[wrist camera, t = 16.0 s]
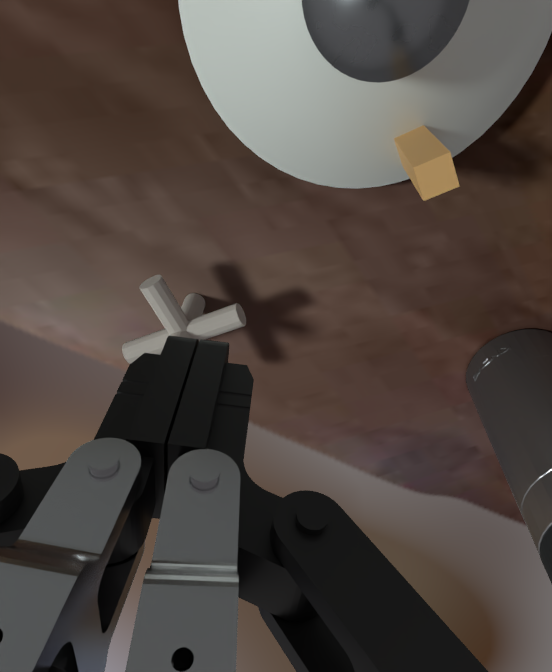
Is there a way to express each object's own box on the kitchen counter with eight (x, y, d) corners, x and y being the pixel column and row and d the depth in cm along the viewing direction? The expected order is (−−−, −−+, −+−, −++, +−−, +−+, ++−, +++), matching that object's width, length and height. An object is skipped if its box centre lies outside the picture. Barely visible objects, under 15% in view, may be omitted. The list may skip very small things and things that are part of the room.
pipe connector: (220, 231, 39) (198, 292, 31) (270, 329, 44) (263, 405, 36) (114, 273, 42) (67, 340, 33) (173, 362, 47) (145, 440, 38)
